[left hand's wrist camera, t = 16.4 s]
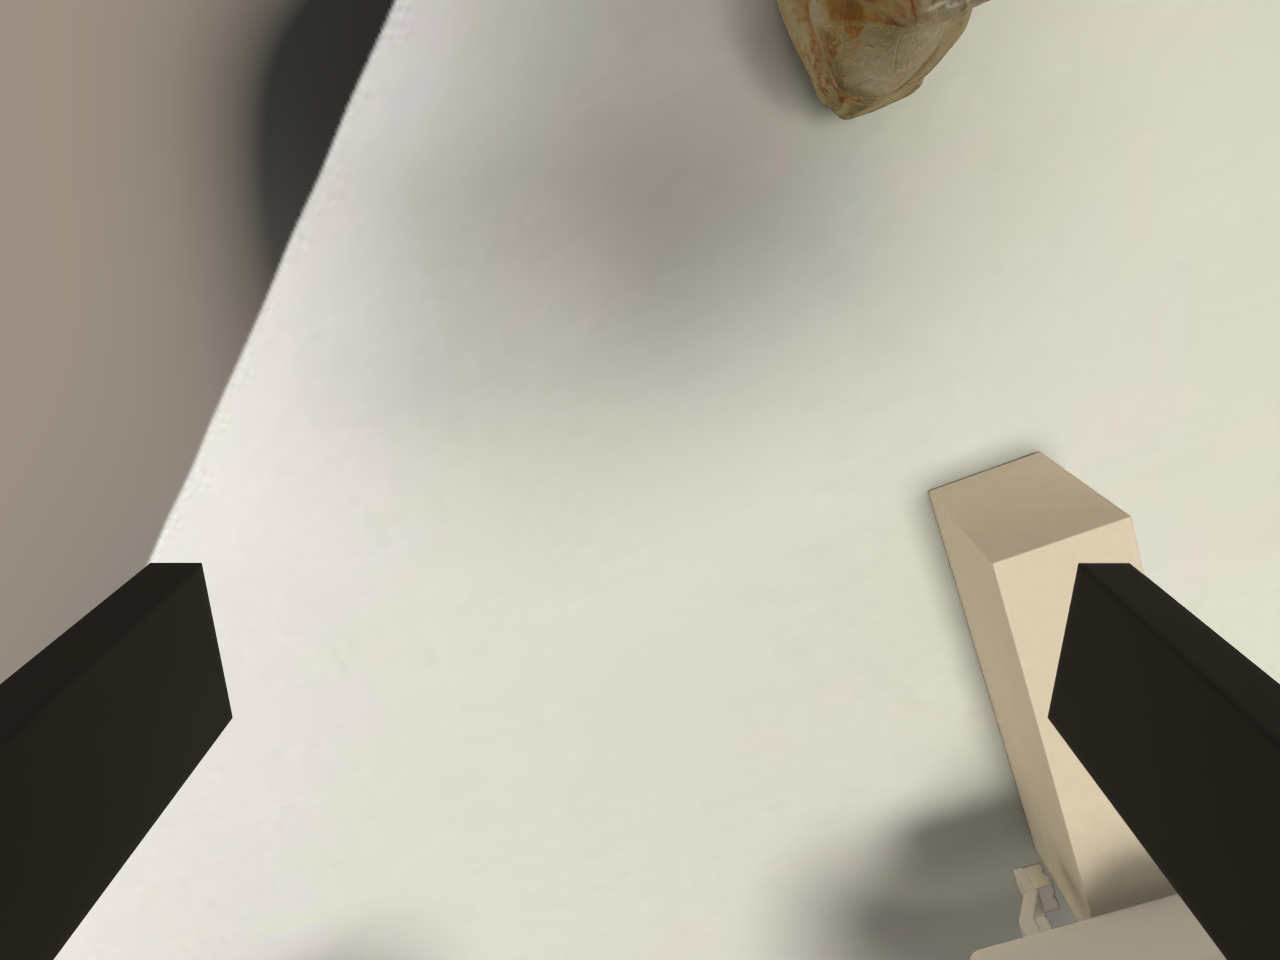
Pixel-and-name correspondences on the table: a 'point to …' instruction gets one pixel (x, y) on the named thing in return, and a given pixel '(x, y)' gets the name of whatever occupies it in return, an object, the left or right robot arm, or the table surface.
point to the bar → (1043, 660)
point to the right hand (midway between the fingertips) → (1114, 848)
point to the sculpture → (871, 46)
